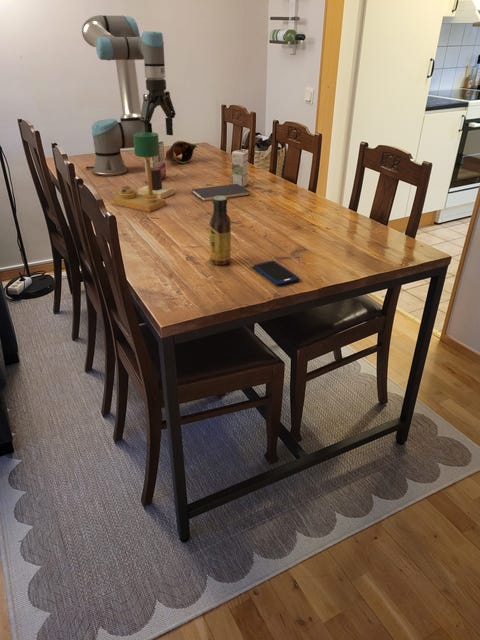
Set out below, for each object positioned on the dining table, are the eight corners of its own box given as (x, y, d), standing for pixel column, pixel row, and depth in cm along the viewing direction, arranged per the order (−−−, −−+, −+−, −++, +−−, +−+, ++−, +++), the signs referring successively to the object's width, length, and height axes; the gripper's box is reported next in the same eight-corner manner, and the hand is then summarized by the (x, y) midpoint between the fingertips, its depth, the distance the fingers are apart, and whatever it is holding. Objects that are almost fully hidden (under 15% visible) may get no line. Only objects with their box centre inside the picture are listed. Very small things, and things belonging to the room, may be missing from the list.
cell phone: (278, 286, 131) (278, 283, 131) (252, 267, 142) (252, 264, 141) (300, 280, 134) (300, 278, 134) (273, 262, 145) (273, 259, 144)
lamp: (134, 198, 184) (127, 135, 172) (149, 192, 191) (143, 131, 179) (152, 201, 181) (147, 137, 169) (167, 195, 187) (163, 133, 175)
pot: (179, 138, 259) (194, 132, 244) (189, 157, 264) (204, 153, 249) (154, 152, 253) (167, 147, 238) (164, 172, 258) (178, 168, 243)
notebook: (237, 187, 213) (192, 192, 205) (237, 183, 212) (192, 189, 204) (250, 195, 203) (203, 201, 195) (250, 191, 202) (203, 197, 194)
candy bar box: (156, 176, 227) (154, 139, 218) (166, 177, 225) (163, 140, 217) (145, 182, 218) (142, 144, 209) (155, 183, 216) (152, 145, 208)
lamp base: (113, 203, 191) (111, 194, 189) (129, 197, 198) (128, 187, 196) (149, 211, 183) (148, 201, 181) (165, 204, 190) (165, 194, 188)
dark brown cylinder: (145, 189, 200) (144, 168, 196) (154, 185, 204) (152, 165, 200) (156, 191, 198) (154, 170, 193) (164, 187, 202) (163, 167, 197)
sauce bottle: (209, 257, 147) (208, 193, 137) (229, 257, 148) (230, 193, 137) (210, 266, 142) (208, 200, 131) (231, 266, 142) (231, 200, 132)
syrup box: (248, 184, 217) (248, 150, 209) (242, 187, 212) (243, 153, 205) (236, 182, 219) (237, 149, 211) (231, 185, 214) (231, 152, 207)
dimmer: (137, 195, 201) (136, 188, 200) (152, 189, 208) (151, 183, 207) (160, 199, 196) (159, 193, 195) (174, 193, 203) (174, 187, 202)
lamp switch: (120, 193, 190) (119, 188, 189) (126, 191, 193) (126, 185, 192) (127, 195, 189) (127, 189, 188) (134, 192, 192) (133, 187, 191)
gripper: (143, 81, 171) (148, 144, 182) (182, 76, 189) (185, 133, 200) (126, 80, 174) (132, 142, 185) (166, 76, 192) (170, 132, 203)
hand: (159, 137), depth 192 cm, fingers open, 13 cm apart
